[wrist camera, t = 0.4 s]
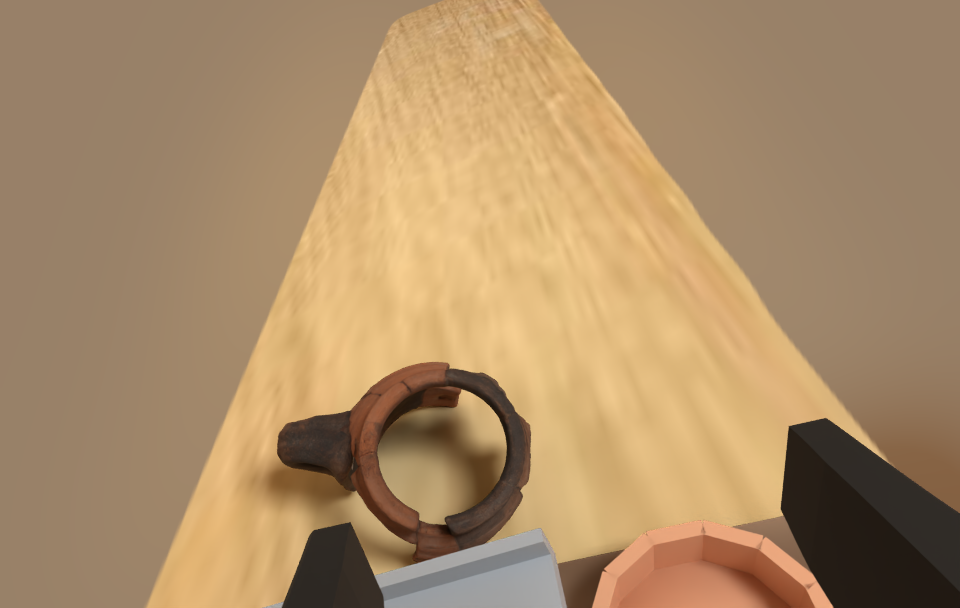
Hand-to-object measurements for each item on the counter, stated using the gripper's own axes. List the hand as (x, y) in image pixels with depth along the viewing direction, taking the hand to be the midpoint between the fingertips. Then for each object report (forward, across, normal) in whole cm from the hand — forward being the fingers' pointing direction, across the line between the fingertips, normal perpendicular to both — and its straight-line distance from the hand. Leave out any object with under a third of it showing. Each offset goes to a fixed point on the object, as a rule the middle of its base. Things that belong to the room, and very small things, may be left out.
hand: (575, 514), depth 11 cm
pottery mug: (+17, +6, +17) cm, 25 cm away
